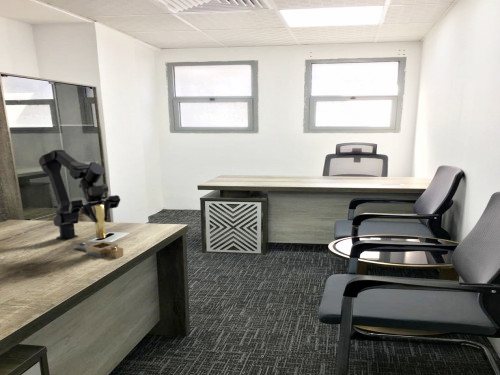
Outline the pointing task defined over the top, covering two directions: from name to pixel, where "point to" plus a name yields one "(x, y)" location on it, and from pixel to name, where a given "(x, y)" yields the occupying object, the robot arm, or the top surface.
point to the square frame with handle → (101, 249)
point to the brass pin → (100, 221)
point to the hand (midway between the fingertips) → (101, 221)
